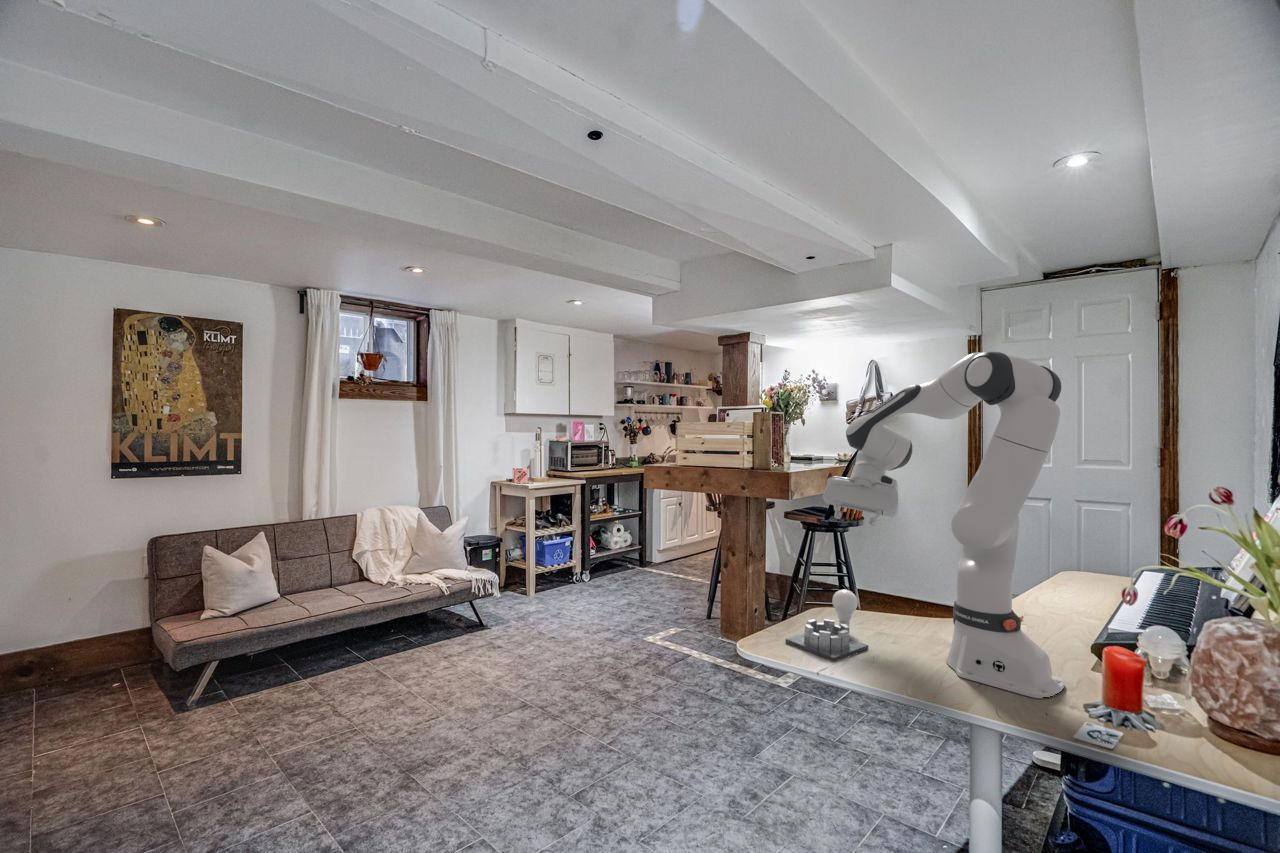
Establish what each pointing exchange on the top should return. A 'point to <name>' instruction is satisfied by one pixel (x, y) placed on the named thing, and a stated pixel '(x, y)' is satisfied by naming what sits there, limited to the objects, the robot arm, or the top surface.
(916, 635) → the top surface
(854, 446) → the robot arm
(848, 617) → the lightbulb
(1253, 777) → the top surface
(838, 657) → the lamp socket
